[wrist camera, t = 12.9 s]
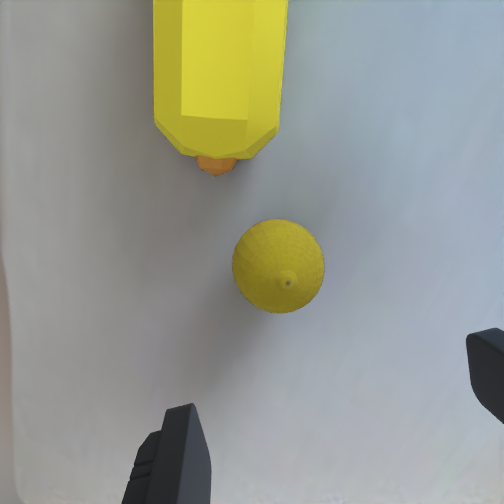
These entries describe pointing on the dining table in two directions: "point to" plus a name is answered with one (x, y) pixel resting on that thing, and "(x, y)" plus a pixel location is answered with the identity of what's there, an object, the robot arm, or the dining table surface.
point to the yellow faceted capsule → (218, 76)
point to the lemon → (278, 266)
